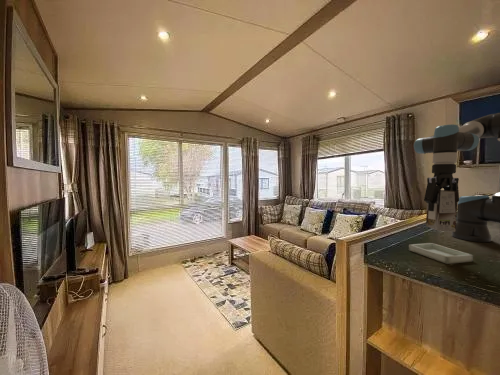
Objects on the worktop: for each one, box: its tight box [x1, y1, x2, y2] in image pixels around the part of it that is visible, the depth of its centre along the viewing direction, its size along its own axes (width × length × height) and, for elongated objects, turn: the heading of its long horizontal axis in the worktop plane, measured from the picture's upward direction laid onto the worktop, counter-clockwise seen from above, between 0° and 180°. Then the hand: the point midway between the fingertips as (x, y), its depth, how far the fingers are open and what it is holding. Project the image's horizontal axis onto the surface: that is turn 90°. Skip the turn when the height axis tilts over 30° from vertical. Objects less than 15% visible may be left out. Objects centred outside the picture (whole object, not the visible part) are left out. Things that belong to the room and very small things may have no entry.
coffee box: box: [425, 189, 458, 233], centre depth 94 cm, size 9×6×16 cm
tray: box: [408, 242, 474, 265], centre depth 95 cm, size 13×16×2 cm
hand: (440, 218), depth 94 cm, fingers closed on coffee box, 8 cm apart
